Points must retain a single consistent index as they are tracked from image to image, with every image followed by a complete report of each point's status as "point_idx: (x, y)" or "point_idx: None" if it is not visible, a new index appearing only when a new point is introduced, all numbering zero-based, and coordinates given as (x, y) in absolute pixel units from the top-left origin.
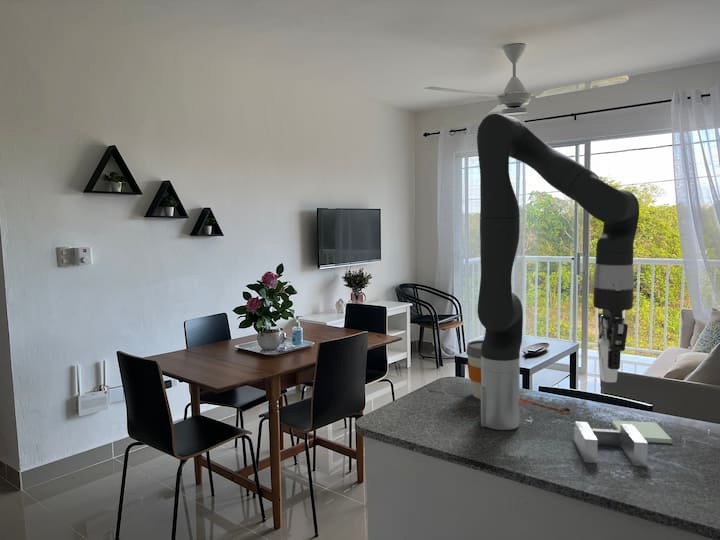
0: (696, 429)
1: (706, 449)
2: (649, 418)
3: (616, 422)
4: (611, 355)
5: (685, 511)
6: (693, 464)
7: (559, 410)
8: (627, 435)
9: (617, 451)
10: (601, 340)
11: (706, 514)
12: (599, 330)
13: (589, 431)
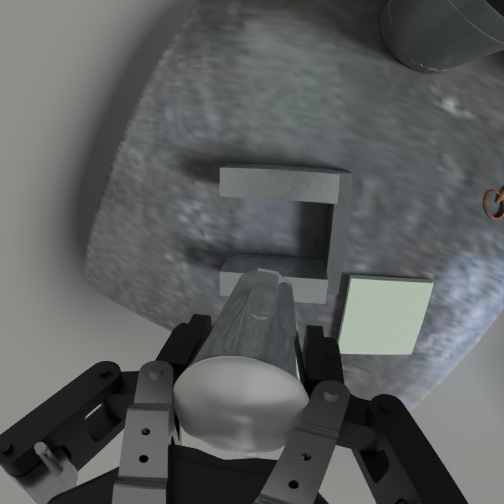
0: None
1: None
2: (443, 350)
3: (421, 288)
4: (165, 356)
5: (102, 268)
6: None
7: (498, 194)
8: None
9: (294, 245)
10: (215, 387)
11: (103, 289)
12: (411, 439)
13: (271, 191)
